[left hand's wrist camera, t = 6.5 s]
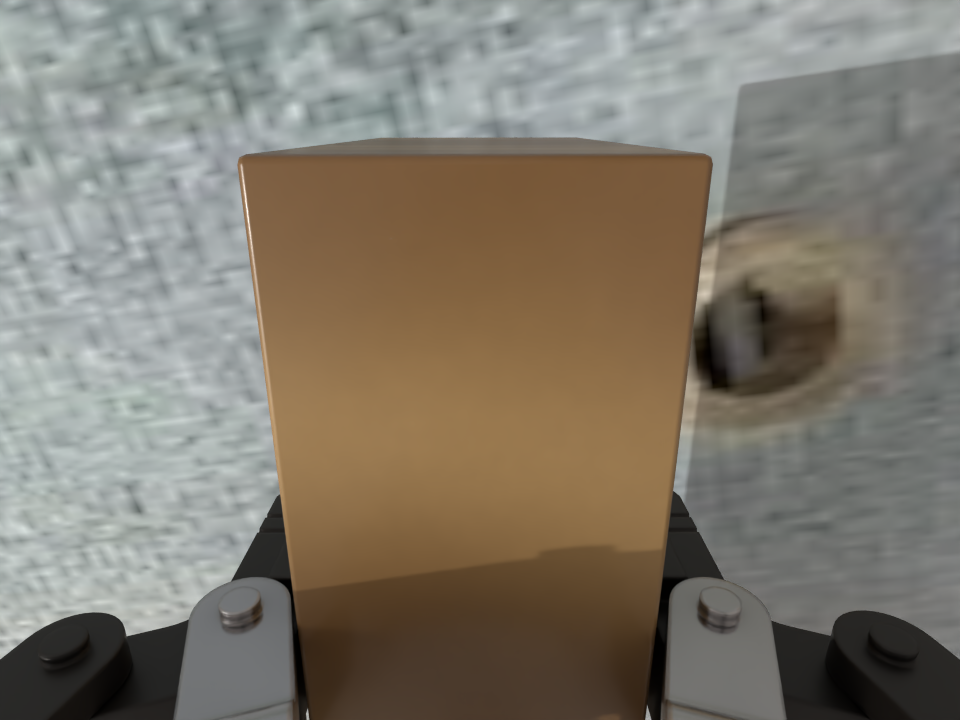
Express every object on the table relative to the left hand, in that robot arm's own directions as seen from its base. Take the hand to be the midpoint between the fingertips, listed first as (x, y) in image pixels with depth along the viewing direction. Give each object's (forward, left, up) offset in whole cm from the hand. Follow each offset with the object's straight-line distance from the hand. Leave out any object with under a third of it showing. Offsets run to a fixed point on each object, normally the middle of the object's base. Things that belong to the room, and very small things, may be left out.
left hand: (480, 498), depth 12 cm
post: (+21, +4, -4) cm, 22 cm away
